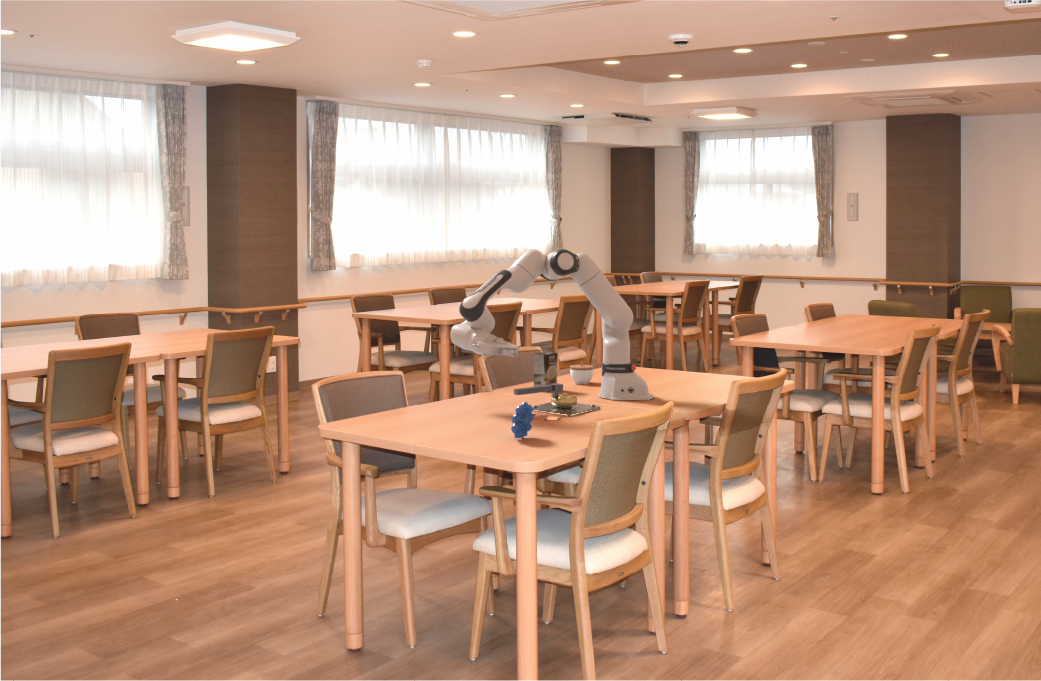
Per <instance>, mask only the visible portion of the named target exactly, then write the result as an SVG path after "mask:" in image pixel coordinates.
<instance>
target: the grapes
mask: <svg viewBox="0 0 1041 681" xmlns="http://www.w3.org/2000/svg"><path fill="white" fill-rule="evenodd" d="M532 406H533V405H532V404H529V402H527V401H524V402H522V403H521V404H520V405H518V406H516V408H515V409H514V411H515V413H514V414H515V415H513V416H512V417H511V422H512V424H513V425H511V428H510V429H511V432H512V433H513V434H514V435H513V436H514V438H515V439H516V438H520V439H522V438H521V437H524V436H526V437H527V436H528V432H530V431H531V430H532V428H533V425H532V423H531V422H533V421H534V419H535V415H533V414H534V413H533V412H534V411H533V407H532Z"/></svg>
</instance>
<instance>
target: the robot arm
mask: <svg viewBox="0 0 1041 681" xmlns="http://www.w3.org/2000/svg"><path fill="white" fill-rule="evenodd" d="M566 276H569V277H571V278H572V279H573V280H574V281H575V283H576V284H577V286H578V287H579V288H580V290H581V291H582V293H583V294H584V296H585V297H586V298H587V299H588V301H589V302H590V304H591V305H592V306H593V307H594V308H595V310H596V311H597V312H598V313H599V315H600V317H601V335H602V362H601V371H600V372H601V376H602V377H601V383H600V389H599V394H598V397H599V398H602V399H606V400H607V399H608V400H612V401H651V400H653V399H654V398H653V397H654V394H653V393H652V392H649V387H648V383H647V381H646V380H645V379H644V378H642V377H641V376H640V375H638V373H637V372H635V370H637V366H636V365H635V364H633V363H631V342H630V335H629V333H630V332H629V328H630V327H631V326H632V324H633V322H634V313H633V311H632V309H631V307H630V306H629V305H628V304H627V302H626V301H625V299H624V298H623V297H622V296H621V295H620V294H619V292H618V291H617V289H616V288H615V287H614V286H613V285H612V283H611V282H610V281H609V279H608V278H607V277H606V275H605V274H604V273H603V271H602V270H601V268H600V267H599V266H598V264H597V263H596V262H595V261H594V260H593V259H592V258H591V257H590V256H589V255H588V254H586V253H585V252H578V253H573V252H572V251H570V250H568V249H566V248H565V249H564V248H562V249H561V248H560V249H556V250H555V251H552V252H549V253H548V254H546V255H545V254H543V253H542V252H541V251H539V250H537V249H533V248H530V249H528V250H526V251H524V253H522V254H521V255H520V256H519V257H518V258H517V259H516V260H515V261H514V262H513V263H512V264H511V265H510V266H509V267H508V268H505V269H501V270H499V271H498V272H496V273H495V274H493V276H491V277H490V278H489V279H488V280H487V281H486V282H484V283H483V284H482V285H481V286H480V287H479V288H478V289H477V290H475V291H474V292H473V293H470V294H469V295H468V296H466V297H464V298H463V299H462V300H461V302H460V305H459V308H458V312H459V314H460V316H461V317H462V318H463V319H464V321H463V322H461V323H459V324H454V325H453V326H452V327H451V330H450V334H449V335H450V340H451V342H452V344H454V345H455V346H457V347H458V348H461V349H463V350H466V351H472V352H473V353H474V354H478V355H480V356H483V357H485V358H488V357H491V356H505V357H506V356H509V357H510V358H511V357H512V358H513V357H514V358H516V357H518V355H519V353H520V352H519V351H520V347H519V346H517V345H515V344H514V343H511V342H509V341H506V340H505V339H504V338H503V337H500V336H496V335H494V334H491V333H492V332H493V331H494V329H495V326H496V319H495V318H494V316H493V314H492V313H491V311H490V310H489V308H488V306H487V304H488V302H489V300H491V299H492V298H493V297H494V296H495V295H497V293H499V292H500V291H502V289H506V290H508V291H510V292H512V293H515V294H519V293H524V292H526V291H528V289H529V288H530V287H531V286H532V285H533V284H534V283H535V281H537V278H539V277H542V278H543V279H545V280H546V281H556V280H560V279H563V278H565V277H566ZM652 398H653V399H652ZM650 399H651V400H650Z"/></svg>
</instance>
